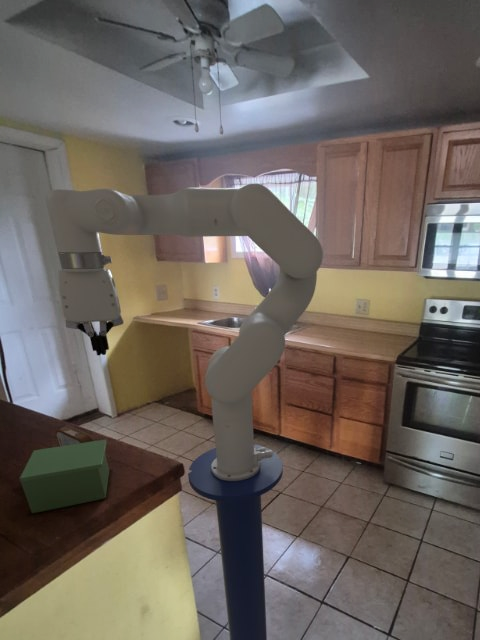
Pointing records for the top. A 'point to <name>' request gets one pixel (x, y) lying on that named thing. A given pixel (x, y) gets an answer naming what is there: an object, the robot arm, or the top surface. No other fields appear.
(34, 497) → the chest
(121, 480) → the top surface
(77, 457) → the lid
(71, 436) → the tin
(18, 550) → the top surface
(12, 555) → the top surface
